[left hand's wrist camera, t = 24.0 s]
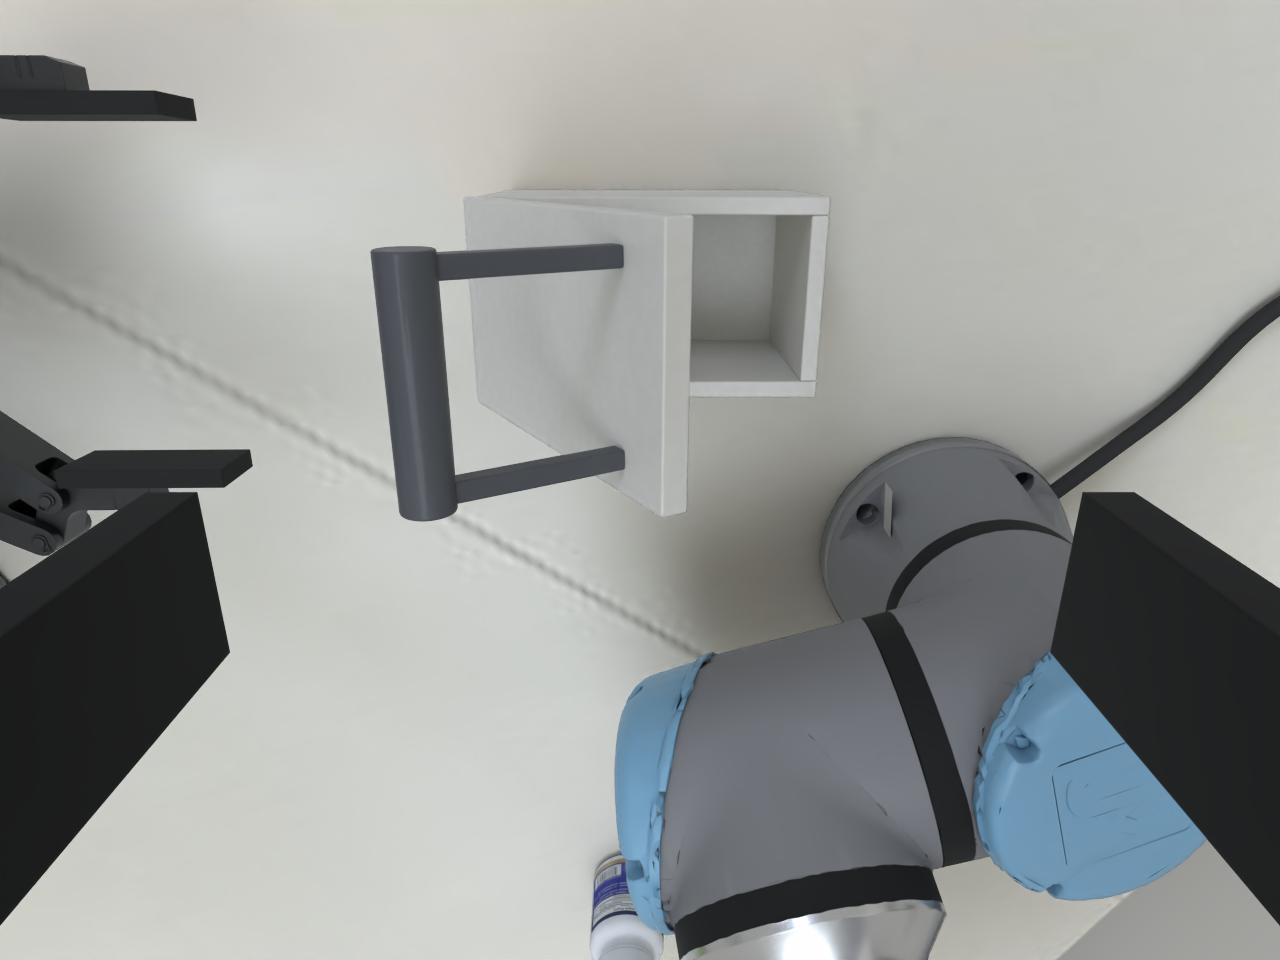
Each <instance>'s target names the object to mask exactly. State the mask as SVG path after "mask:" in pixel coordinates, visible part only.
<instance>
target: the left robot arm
mask: <svg viewBox="0 0 1280 960" xmlns="http://www.w3.org/2000/svg"><path fill="white" fill-rule="evenodd" d="M1279 316H1280V296H1279V297H1277V298H1276V299H1274V300H1273V301H1272V302H1270V303H1269V304H1267V305H1266V306H1264V307H1263V308H1262V309H1260V310H1259V311H1258V312H1257V313H1255V314H1254V315H1253V316H1252V317H1250V318H1249V319H1248V320H1247V321H1246V322H1244V323H1243V324H1242V325H1241V326H1240V327H1239V328H1238V329H1237V330H1236V331H1234V332H1233V333H1232V334H1231V335H1230V336H1229V337H1228V338H1227V339H1226V340H1225V341H1224V342H1223V343H1222V344H1221V345H1220V346H1219V347H1218V348H1217V349H1216V351H1215V352H1214V353H1213V354H1212V355H1211V356H1210V357H1209V358H1208V359H1207V360H1206V361H1205V362H1204V363H1203V364H1202V365H1201V366H1200V367H1199V368H1198V369H1197V370H1196V371H1195V372H1194V374H1193V375H1192V376H1190V377H1189V378H1188V379H1187V380H1186V381H1185V382H1184V383H1183V384H1182V385H1181V386H1180V387H1179V388H1178V389H1177V390H1176V391H1175V392H1174V393H1172V394H1171V395H1170V396H1169V397H1168V398H1167V399H1165V400H1164V401H1163V402H1162V403H1161V404H1159V405H1158V406H1157V407H1156V408H1154V409H1153V410H1152V411H1150V412H1149V413H1148V414H1147V415H1145V416H1144V417H1143V418H1141V419H1140V420H1139V421H1137V422H1136V423H1134V424H1133V425H1132V426H1130V427H1129V428H1128V429H1126V430H1125V431H1123V432H1122V433H1121V434H1119V435H1118V436H1116V437H1115V438H1114V439H1112V440H1111V441H1110V442H1108V443H1107V444H1106V445H1104V446H1103V447H1102V448H1100V449H1099V450H1098V451H1096V452H1095V453H1093V454H1092V455H1091V456H1089V457H1088V458H1087V459H1085V460H1084V461H1083V462H1081V463H1080V464H1079V465H1077V466H1076V467H1074V468H1073V469H1072V470H1070V471H1069V472H1068V473H1066V474H1065V475H1064V476H1062V477H1061V478H1059V479H1058V480H1057V481H1055V482H1054V483H1053V484H1051V485H1049V483H1048V482H1047V481H1046V480H1045V479H1044V478H1043V477H1042V476H1041V475H1040V474H1039V473H1038V472H1037V471H1036V470H1035V469H1033V468H1032V467H1031V466H1029V465H1028V464H1027V463H1026V462H1024V461H1023V460H1022V459H1020V458H1019V457H1018V456H1016V455H1015V454H1013V453H1011V452H1009V451H1008V450H1006V449H1004V448H1001V447H999V446H997V445H994V444H991V443H988V442H984V441H980V440H975V439H968V438H938V439H932V440H926V441H922V442H918V443H914V444H911V445H909V446H906V447H903V448H901V449H898V450H896V451H894V452H892V453H890V454H888V455H886V456H884V457H883V458H881V459H879V460H878V461H876V462H875V463H873V464H872V465H871V466H869V467H868V468H867V469H866V470H864V471H863V472H862V473H861V474H860V475H859V476H858V477H857V478H856V479H855V480H854V481H853V482H852V483H851V484H850V485H849V486H848V487H847V489H846V490H845V491H844V492H843V494H842V495H841V497H840V498H839V499H838V501H837V503H836V504H835V506H834V508H833V510H832V512H831V514H830V516H829V519H828V521H827V524H826V527H825V530H824V534H823V538H822V545H821V570H822V575H823V580H824V583H825V586H826V589H827V592H828V594H829V597H830V599H831V601H832V603H833V605H834V608H835V610H836V612H837V613H838V615H839V617H840V618H841V620H842V621H843V623H839V624H835V625H831V626H827V627H824V628H820V629H816V630H812V631H808V632H804V633H800V634H796V635H792V636H788V637H784V638H780V639H776V640H772V641H768V642H764V643H760V644H756V645H752V646H748V647H744V648H740V649H736V650H732V651H729V652H725V653H721V654H715V653H713V652H712V653H708V654H705V655H703V656H701V657H700V658H698V659H697V660H696V662H693V663H689V664H686V665H683V666H680V667H677V668H674V669H670V670H667V671H664V672H661V673H658V674H655V675H652V676H650V677H648V678H646V679H644V680H643V681H642V682H641V683H639V684H638V685H637V686H636V687H635V689H634V690H633V692H632V693H631V695H630V696H629V698H628V700H627V703H626V705H625V707H624V710H623V711H622V715H621V718H620V723H619V727H618V733H617V741H616V753H615V804H616V820H617V830H618V839H619V846H620V850H621V854H622V856H623V857H624V858H626V881H627V885H628V889H629V893H630V897H631V900H632V903H633V905H634V908H635V910H636V913H637V914H638V916H639V918H640V920H641V921H642V922H643V923H644V924H645V925H646V926H647V927H648V928H650V929H651V930H653V931H658V932H661V933H663V934H665V935H671V934H675V936H676V942H677V948H678V954H679V960H928V957H929V954H930V952H931V950H932V947H933V945H934V943H935V940H936V938H937V936H938V933H939V931H940V929H941V926H942V924H943V922H944V919H945V917H946V915H947V914H946V911H945V907H944V904H943V902H942V899H941V896H940V894H939V891H938V888H937V885H936V882H935V879H934V876H933V873H932V871H933V869H937V868H941V867H945V866H950V865H954V864H959V863H963V862H968V861H972V860H977V859H981V858H985V857H990V856H991V858H992V860H993V862H994V864H995V865H997V866H999V867H1000V869H1001V870H1002V871H1005V872H1006V873H1007V874H1008V875H1009V876H1010V877H1011V878H1013V879H1014V880H1015V881H1016V882H1018V883H1019V884H1021V885H1022V886H1024V887H1025V888H1027V889H1029V890H1032V891H1035V892H1042V891H1044V890H1045V889H1046V890H1047V891H1048V893H1049V894H1050V895H1051V896H1053V897H1054V898H1057V899H1063V900H1091V899H1102V898H1107V897H1112V896H1115V895H1119V894H1122V893H1126V892H1129V891H1132V890H1134V889H1137V888H1139V887H1142V886H1144V885H1146V884H1148V883H1150V882H1152V881H1154V880H1156V879H1158V878H1160V877H1162V876H1163V875H1165V874H1166V873H1168V872H1169V871H1171V870H1172V869H1174V868H1175V867H1177V866H1178V865H1180V864H1181V863H1182V862H1184V861H1185V860H1186V859H1187V858H1188V857H1189V856H1190V855H1192V853H1194V852H1195V851H1196V850H1197V849H1198V848H1199V847H1200V846H1201V845H1202V844H1203V843H1204V842H1205V841H1206V840H1208V841H1209V842H1210V843H1211V844H1212V845H1213V847H1214V848H1215V849H1216V850H1217V851H1218V853H1219V854H1220V855H1221V856H1222V857H1223V859H1224V860H1225V861H1226V862H1227V863H1228V865H1229V866H1230V867H1231V868H1232V869H1233V870H1234V872H1235V873H1236V874H1237V875H1238V876H1239V878H1240V879H1241V880H1242V881H1243V882H1244V884H1245V885H1246V886H1247V887H1248V888H1249V890H1250V891H1251V892H1252V893H1253V894H1254V895H1255V897H1256V898H1257V899H1258V900H1259V901H1260V903H1261V904H1262V905H1263V906H1264V907H1265V908H1266V910H1267V911H1268V912H1269V913H1270V914H1271V916H1272V917H1273V918H1274V919H1275V920H1276V922H1277V923H1278V924H1279V925H1280V588H1278V587H1277V586H1275V585H1274V584H1272V583H1271V582H1269V581H1268V580H1266V579H1265V578H1263V577H1262V576H1260V575H1259V574H1257V573H1256V572H1254V571H1253V570H1251V569H1250V568H1248V567H1246V566H1245V565H1243V564H1242V563H1240V562H1239V561H1237V560H1236V559H1234V558H1233V557H1231V556H1230V555H1228V554H1227V553H1225V552H1224V551H1222V550H1221V549H1219V548H1218V547H1216V546H1215V545H1213V544H1212V543H1210V542H1209V541H1207V540H1206V539H1204V538H1203V537H1201V536H1200V535H1198V534H1197V533H1195V532H1194V531H1192V530H1191V529H1189V528H1188V527H1186V526H1185V525H1183V524H1182V523H1180V522H1179V521H1177V520H1175V519H1174V518H1172V517H1171V516H1169V515H1168V514H1166V513H1165V512H1163V511H1162V510H1160V509H1159V508H1157V507H1156V506H1154V505H1153V504H1151V503H1150V502H1148V501H1147V500H1145V499H1144V498H1142V497H1141V496H1139V495H1138V494H1136V493H1135V492H1083V493H1082V498H1081V503H1080V508H1079V513H1078V518H1077V523H1076V528H1075V533H1074V537H1073V535H1072V532H1071V529H1070V526H1069V523H1068V520H1067V517H1066V514H1065V511H1064V509H1063V507H1062V505H1061V503H1060V501H1059V498H1061V497H1062V496H1063V495H1065V494H1066V493H1068V492H1069V491H1070V490H1072V489H1073V488H1074V487H1076V486H1077V485H1078V484H1080V483H1081V482H1083V481H1084V480H1085V479H1087V478H1088V477H1089V476H1091V475H1092V474H1094V473H1095V472H1096V471H1098V470H1099V469H1100V468H1102V467H1103V466H1104V465H1106V464H1107V463H1108V462H1110V461H1111V460H1113V459H1114V458H1115V457H1117V456H1118V455H1119V454H1121V453H1122V452H1123V451H1125V450H1126V449H1127V448H1129V447H1130V446H1132V445H1133V444H1134V443H1136V442H1137V441H1139V440H1140V439H1141V438H1143V437H1144V436H1145V435H1147V434H1148V433H1150V432H1151V431H1152V430H1154V429H1155V428H1156V427H1158V426H1159V425H1160V424H1162V423H1163V422H1164V421H1165V420H1167V419H1168V418H1169V417H1171V416H1172V415H1173V414H1174V413H1176V412H1177V411H1178V410H1179V409H1180V408H1182V407H1183V406H1184V405H1185V404H1186V403H1187V402H1189V401H1190V400H1191V399H1192V398H1193V397H1194V396H1195V395H1196V394H1197V393H1198V392H1199V391H1200V390H1202V389H1203V388H1204V387H1205V386H1206V385H1207V384H1208V383H1209V382H1210V381H1211V380H1212V379H1213V378H1214V377H1215V376H1216V374H1217V373H1218V372H1219V371H1220V370H1221V369H1222V368H1223V367H1224V366H1225V365H1226V364H1227V363H1228V362H1229V361H1230V360H1231V359H1232V358H1233V357H1234V356H1235V355H1236V354H1237V353H1238V352H1239V351H1240V350H1241V349H1242V348H1243V347H1244V346H1245V345H1246V344H1247V343H1248V342H1249V341H1250V340H1251V339H1252V338H1253V337H1254V336H1256V335H1257V334H1258V333H1259V332H1260V331H1261V330H1263V329H1264V328H1265V327H1266V326H1267V325H1269V324H1270V323H1271V322H1273V321H1274V320H1275V319H1277V318H1278V317H1279ZM229 653H230V650H229V645H228V640H227V635H226V630H225V626H224V621H223V616H222V611H221V606H220V601H219V596H218V591H217V586H216V582H215V577H214V572H213V567H212V562H211V557H210V552H209V547H208V542H207V537H206V533H205V528H204V523H203V518H202V513H201V508H200V503H199V498H198V493H197V492H145V493H144V494H142V495H141V496H139V497H138V498H136V499H135V500H133V501H132V502H130V503H129V504H127V505H126V506H124V507H123V508H121V509H120V510H118V511H117V512H115V513H114V514H112V515H111V516H109V517H108V518H106V519H105V520H103V521H101V522H100V523H98V524H97V525H95V526H94V527H92V528H91V529H89V530H88V531H86V532H85V533H83V534H82V535H80V536H79V537H77V538H76V539H74V540H73V541H71V542H70V543H68V544H67V545H65V546H64V547H62V548H61V549H59V550H58V551H56V552H55V553H53V554H52V555H50V556H49V557H47V558H46V559H44V560H43V561H41V562H40V563H38V564H37V565H35V566H34V567H32V568H30V569H29V570H27V571H26V572H24V573H23V574H21V575H20V576H18V577H17V578H15V579H14V580H12V581H11V582H9V583H8V584H6V585H5V586H3V587H2V588H0V925H1V924H2V923H3V922H4V920H5V919H6V918H7V917H8V916H9V914H10V913H11V912H12V911H13V910H14V909H15V907H16V906H17V905H18V904H19V903H20V901H21V900H22V899H23V898H24V897H25V895H26V894H27V893H28V892H29V891H30V890H31V888H32V887H33V886H34V885H35V884H36V882H37V881H38V880H39V879H40V878H41V876H42V875H43V874H44V873H45V872H46V870H47V869H48V868H49V867H50V866H51V865H52V863H53V862H54V861H55V860H56V859H57V857H58V856H59V855H60V854H61V853H62V851H63V850H64V849H65V848H66V847H67V846H68V844H69V843H70V842H71V841H72V840H73V838H74V837H75V836H76V835H77V834H78V832H79V831H80V830H81V829H82V828H83V827H84V825H85V824H86V823H87V822H88V821H89V819H90V818H91V817H92V816H93V815H94V813H95V812H96V811H97V810H98V809H99V807H100V806H101V805H102V804H103V803H104V802H105V800H106V799H107V798H108V797H109V796H110V794H111V793H112V792H113V791H114V790H115V788H116V787H117V786H118V785H119V784H120V783H121V781H122V780H123V779H124V778H125V777H126V775H127V774H128V773H129V772H130V771H131V769H132V768H133V767H134V766H135V765H136V764H137V762H138V761H139V760H140V759H141V758H142V756H143V755H144V754H145V753H146V752H147V750H148V749H149V748H150V747H151V746H152V745H153V743H154V742H155V741H156V740H157V739H158V737H159V736H160V735H161V734H162V733H163V731H164V730H165V729H166V728H167V727H168V725H169V724H170V723H171V722H172V721H173V720H174V718H175V717H176V716H177V715H178V714H179V712H180V711H181V710H182V709H183V708H184V706H185V705H186V704H187V703H188V702H189V701H190V699H191V698H192V697H193V696H194V695H195V693H196V692H197V691H198V690H199V689H200V687H201V686H202V685H203V684H204V683H205V682H206V680H207V679H208V678H209V677H210V676H211V674H212V673H213V672H214V671H215V670H216V668H217V667H218V666H219V665H220V664H221V662H222V661H223V660H224V659H225V658H226V657H227V655H228V654H229Z"/></svg>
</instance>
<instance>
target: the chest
mask: <svg viewBox="0 0 1280 960" xmlns="http://www.w3.org/2000/svg"><path fill="white" fill-rule="evenodd" d="M478 197H491V198H502V199H514V200H526V201H537V202H549V203H561V204H572V205H584V206H595V207H607V208H619V209H630V210H642V211H654V212H665V213H677V214H688V215H692V216H693V218H694V219H693V262H692V306H691V349H690V393H689V397H815V394H816V379H817V367H818V354H819V342H820V329H821V316H822V303H823V291H824V278H825V265H826V253H827V240H828V227H829V216H827V215H829V213H830V202H831V198H830V197H827V196H821V195H815V194H809V193H803V192H797V191H791V190H509V191H504V192H498V193H493V194H488V195H483V196H478Z"/></svg>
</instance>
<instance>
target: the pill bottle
mask: <svg viewBox="0 0 1280 960" xmlns="http://www.w3.org/2000/svg"><path fill="white" fill-rule="evenodd" d="M663 945H664V939H663V933H661V932H658V931H653V930H651V929H650V928H648V927H647V926H646V925H645V924H644V923H643V922H642V921H641V920H640V918H639V916H638V914H637V913H636V910H635V908H634V905H633V903H632V900H631V897H630V893H629V889H628V885H627V881H626V858H624V857H623V856H622V855H618V856H615V857H612V858H610V859H608V860H606V861H605V862H604V863H602V864H601V865H600V867H599V868H598V869H597V871H596V873H595V876H594V882H593V903H592V919H591V933H590V953H591V956H592V958H593V960H660V958H661V956H662V953H663Z"/></svg>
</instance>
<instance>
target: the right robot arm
mask: <svg viewBox="0 0 1280 960" xmlns="http://www.w3.org/2000/svg"><path fill="white" fill-rule="evenodd" d="M0 118H2V119H10V120H18V121H197V119H196V113H195V107H194V101H193V99H191V98H186V97H182V96H177V95H172V94H168V93H163V92H159V91H93V90H89V85H88V80H87V75H86V70H85V68H84V67H82V66H79V65H77V64H74V63H72V62H69V61H65V60H61V59H57V58H52V57H48V56H32V55H28V56H25V55H16V56H14V55H0ZM252 466H253V465H252V459H251V453H250V450H101V451H93V452H91V453H89V454H87V455H85V456H83V457H81V458H79V459H77V460H73V459H72V458H70V457H69V456H67V455H66V454H64V453H63V452H61V451H60V450H58V449H57V448H55V447H54V446H52V445H51V444H49V443H48V442H46V441H45V440H43V439H42V438H40V437H39V436H37V435H36V434H34V433H33V432H31V431H30V430H28V429H27V428H25V427H24V426H22V425H21V424H19V423H18V422H16V421H15V420H13V419H12V418H10V417H9V416H7V415H6V414H4V413H3V412H1V411H0V540H2V541H4V542H7V543H9V544H12V545H14V546H17V547H19V548H22V549H25V550H27V551H30V552H32V553H35V554H37V555H42V556H45V555H50V554H51V553H53V552H54V551H56V550H58V549H59V548H61V547H63V546H64V545H66V544H67V543H69V542H70V541H72V540H74V539H75V538H77V537H78V536H80V535H81V534H83V533H84V532H86V531H88V530H89V528H90V527H91V518H90V516H89V515H88V514H87V510H120V509H121V508H123V507H124V506H126V505H127V504H129V503H130V502H132V501H133V500H135V499H136V498H138V497H139V496H141V495H142V494H144V493H145V492H169V490H168V488H224V487H226V486H227V485H228V484H230V483H231V482H232V481H234V480H235V479H236V478H238V477H239V476H240V475H242V474H243V473H244V472H246V471H247V470H248V469H250V468H251V467H252ZM6 584H7V583H6V582H5V580H4V579H3V578H2V577H1V576H0V588H2V587H3V586H5V585H6Z"/></svg>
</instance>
